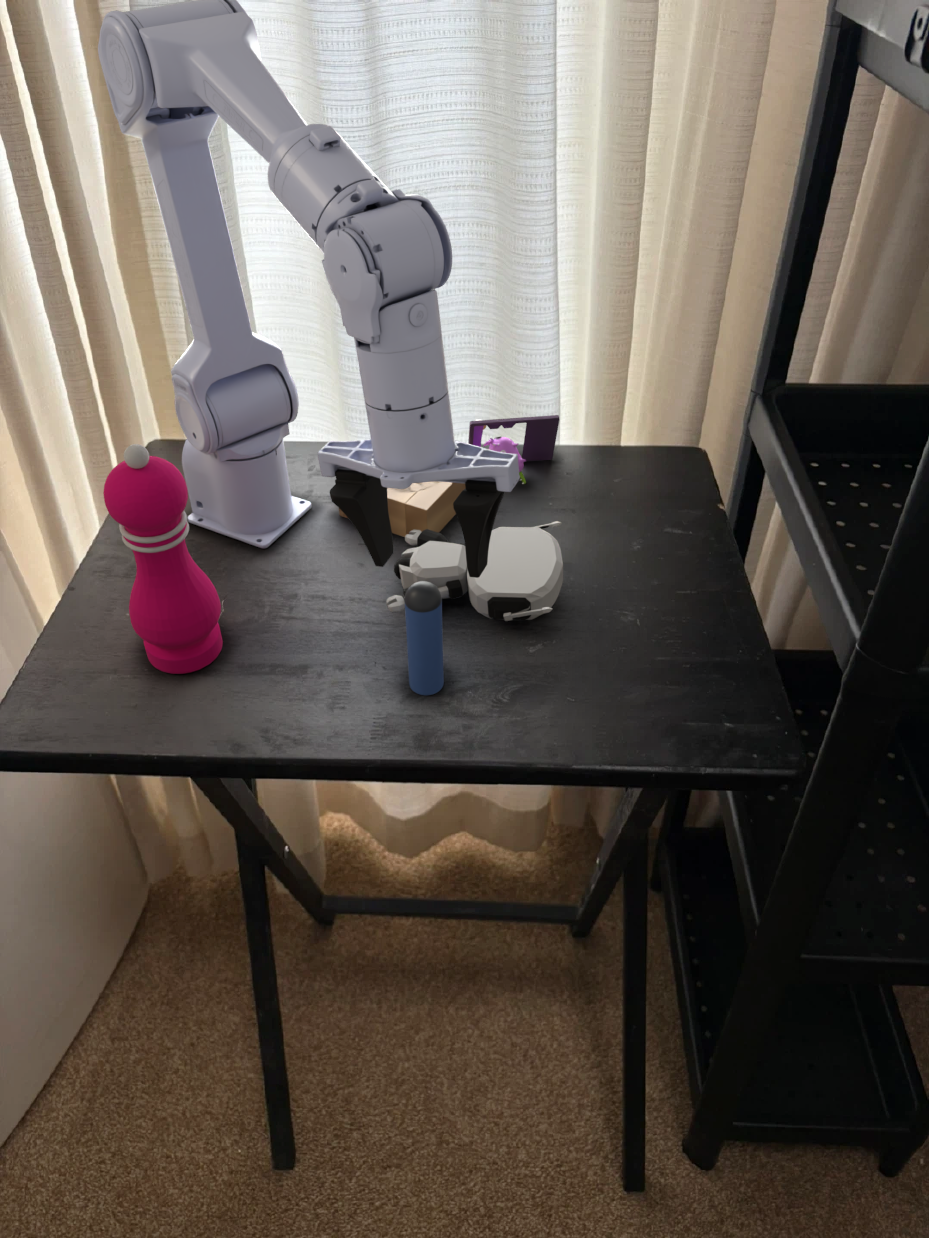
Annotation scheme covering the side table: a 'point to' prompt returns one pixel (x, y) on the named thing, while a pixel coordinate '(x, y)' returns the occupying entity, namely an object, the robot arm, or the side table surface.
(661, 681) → the side table surface
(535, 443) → the purple toy with frame
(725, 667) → the side table surface
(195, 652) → the pepper mill
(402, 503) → the holder
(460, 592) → the robot toy
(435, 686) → the blue domed cylinder
